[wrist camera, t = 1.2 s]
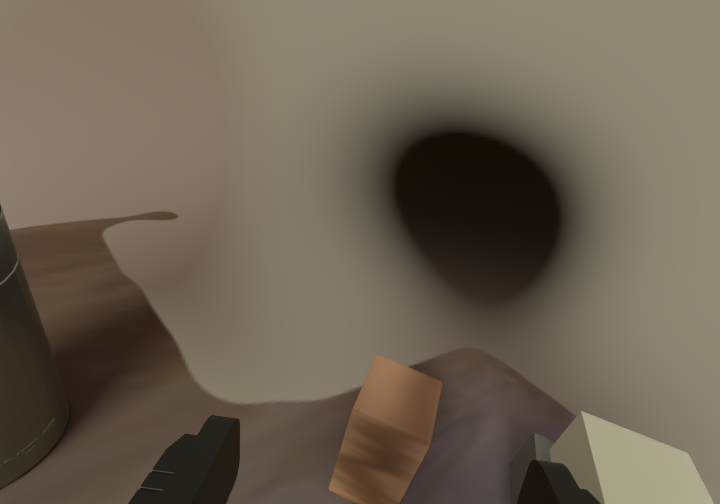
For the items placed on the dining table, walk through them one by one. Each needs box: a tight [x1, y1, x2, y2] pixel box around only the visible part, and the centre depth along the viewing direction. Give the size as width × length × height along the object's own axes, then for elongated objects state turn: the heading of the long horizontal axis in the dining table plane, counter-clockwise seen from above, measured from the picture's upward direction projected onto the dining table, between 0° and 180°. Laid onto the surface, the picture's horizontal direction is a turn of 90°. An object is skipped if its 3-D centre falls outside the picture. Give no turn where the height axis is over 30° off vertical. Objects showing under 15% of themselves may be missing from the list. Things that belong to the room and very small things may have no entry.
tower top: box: [549, 411, 714, 504], centre depth 23 cm, size 7×7×5 cm
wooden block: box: [328, 354, 443, 504], centre depth 26 cm, size 5×5×10 cm
